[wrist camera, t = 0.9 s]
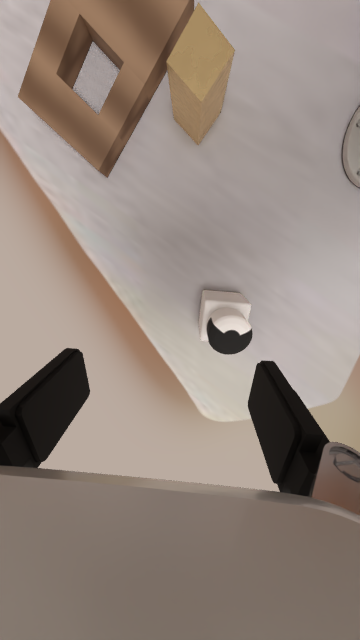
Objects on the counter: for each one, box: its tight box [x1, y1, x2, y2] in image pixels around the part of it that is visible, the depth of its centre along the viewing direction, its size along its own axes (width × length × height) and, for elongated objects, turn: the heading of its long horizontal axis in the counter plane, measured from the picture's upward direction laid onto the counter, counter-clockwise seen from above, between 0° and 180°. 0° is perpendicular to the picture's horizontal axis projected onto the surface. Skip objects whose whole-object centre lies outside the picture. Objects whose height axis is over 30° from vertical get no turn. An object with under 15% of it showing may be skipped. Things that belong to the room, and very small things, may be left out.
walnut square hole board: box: [18, 0, 194, 177], centre depth 23 cm, size 20×12×3 cm, turn 140°
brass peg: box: [166, 3, 235, 145], centre depth 22 cm, size 4×4×9 cm
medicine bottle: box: [199, 290, 252, 354], centre depth 31 cm, size 7×7×12 cm
